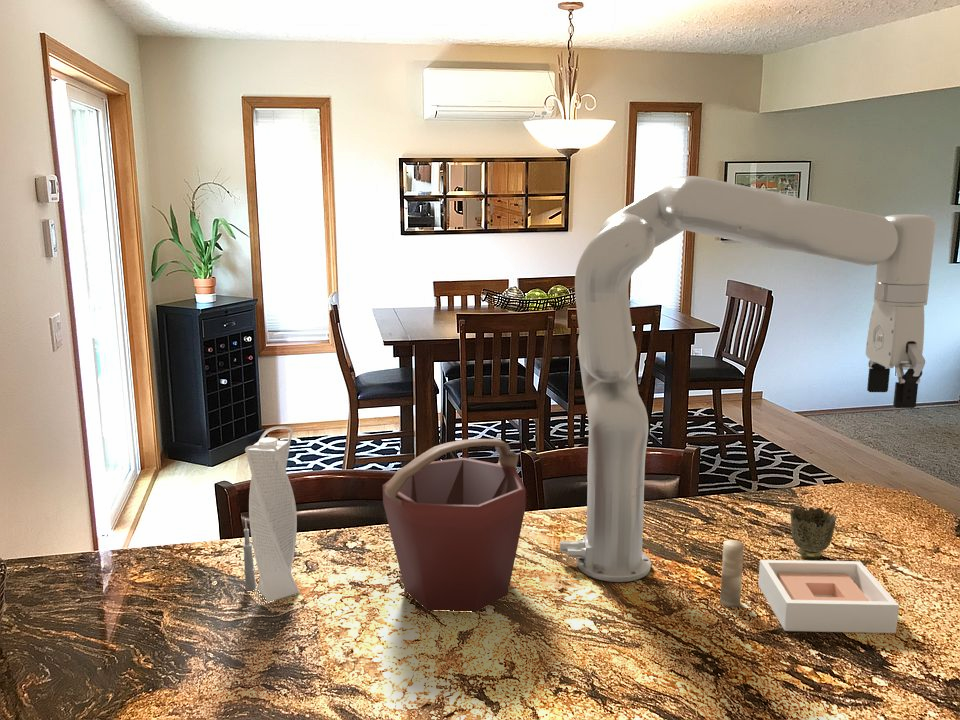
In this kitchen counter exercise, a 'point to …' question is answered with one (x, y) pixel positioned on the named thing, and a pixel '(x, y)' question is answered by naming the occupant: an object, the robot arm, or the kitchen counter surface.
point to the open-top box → (829, 613)
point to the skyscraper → (270, 520)
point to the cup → (812, 531)
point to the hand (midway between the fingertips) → (890, 399)
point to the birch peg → (731, 573)
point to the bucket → (456, 525)
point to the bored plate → (820, 586)
